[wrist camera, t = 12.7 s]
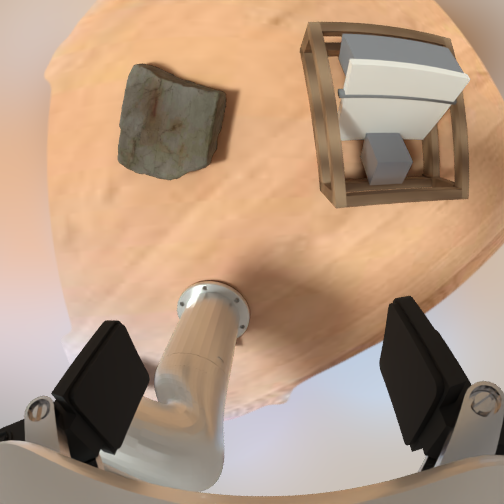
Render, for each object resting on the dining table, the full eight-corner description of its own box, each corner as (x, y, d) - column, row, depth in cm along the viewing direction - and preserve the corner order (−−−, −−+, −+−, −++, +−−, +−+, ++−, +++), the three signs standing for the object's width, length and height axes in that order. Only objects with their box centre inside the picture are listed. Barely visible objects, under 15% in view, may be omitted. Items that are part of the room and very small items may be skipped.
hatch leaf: (415, 112, 32) (425, 140, 32) (322, 112, 34) (329, 141, 34) (454, 49, 18) (473, 81, 17) (332, 33, 19) (347, 65, 19)
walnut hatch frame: (430, 183, 36) (468, 198, 26) (320, 190, 38) (336, 208, 29) (415, 55, 28) (450, 38, 19) (299, 49, 30) (308, 22, 21)
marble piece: (141, 65, 33) (129, 60, 29) (235, 73, 33) (231, 66, 29) (122, 167, 39) (108, 171, 35) (210, 183, 39) (203, 188, 36)
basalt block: (399, 132, 31) (412, 161, 29) (391, 155, 35) (402, 183, 33) (365, 133, 31) (377, 162, 29) (360, 156, 36) (369, 185, 34)
